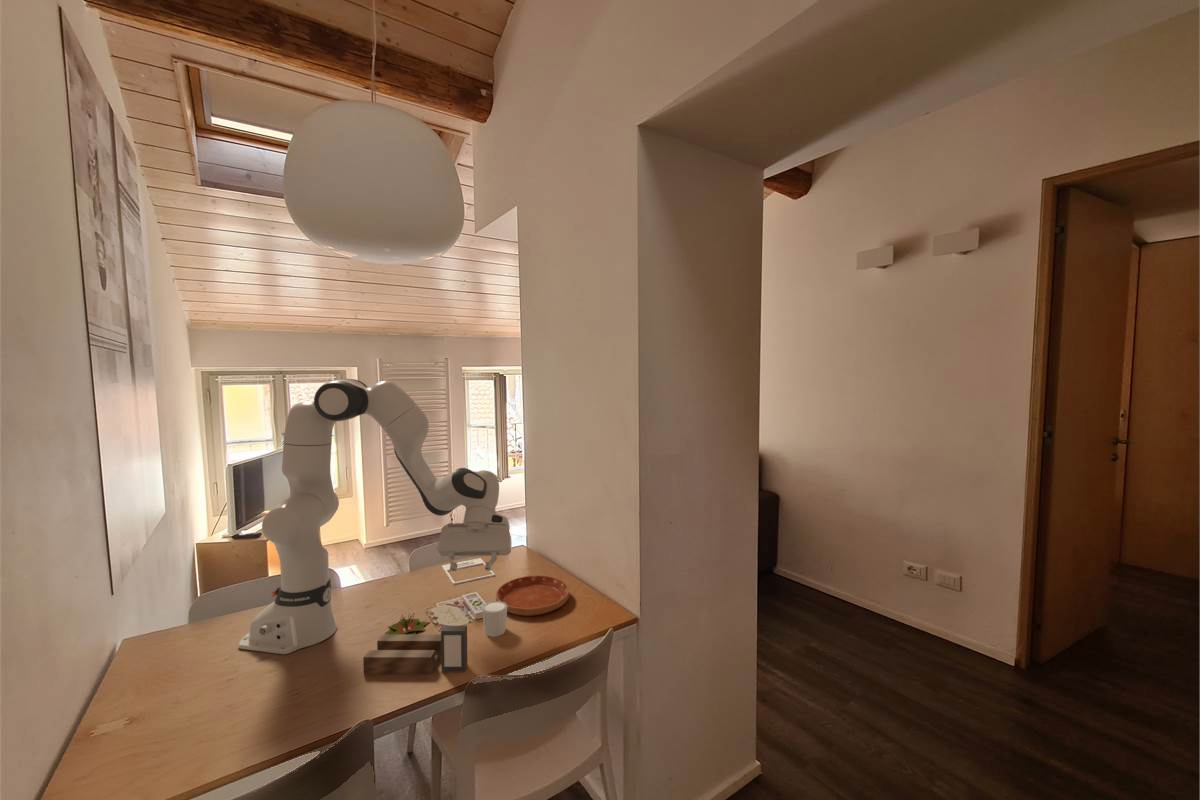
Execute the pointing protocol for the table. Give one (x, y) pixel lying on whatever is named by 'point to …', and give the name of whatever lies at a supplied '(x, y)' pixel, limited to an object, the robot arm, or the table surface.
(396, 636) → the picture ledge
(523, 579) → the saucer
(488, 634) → the white cylinder
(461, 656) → the small frame
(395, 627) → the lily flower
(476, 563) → the photo frame
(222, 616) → the table surface
